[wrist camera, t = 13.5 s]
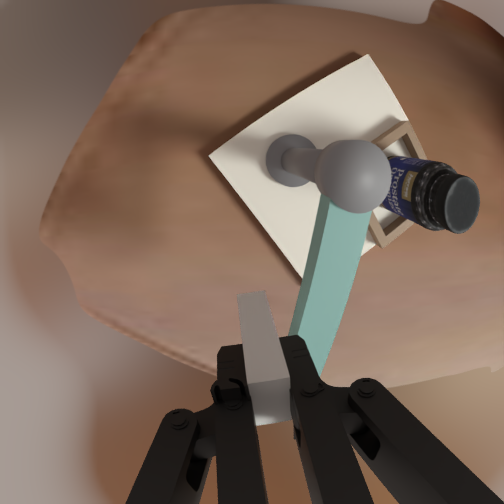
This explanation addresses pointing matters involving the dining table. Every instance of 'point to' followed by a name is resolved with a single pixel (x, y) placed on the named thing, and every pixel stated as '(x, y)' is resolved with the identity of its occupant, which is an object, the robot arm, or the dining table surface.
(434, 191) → the pill bottle
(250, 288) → the dining table surface
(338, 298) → the keeper arm
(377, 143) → the base board
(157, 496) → the robot arm
